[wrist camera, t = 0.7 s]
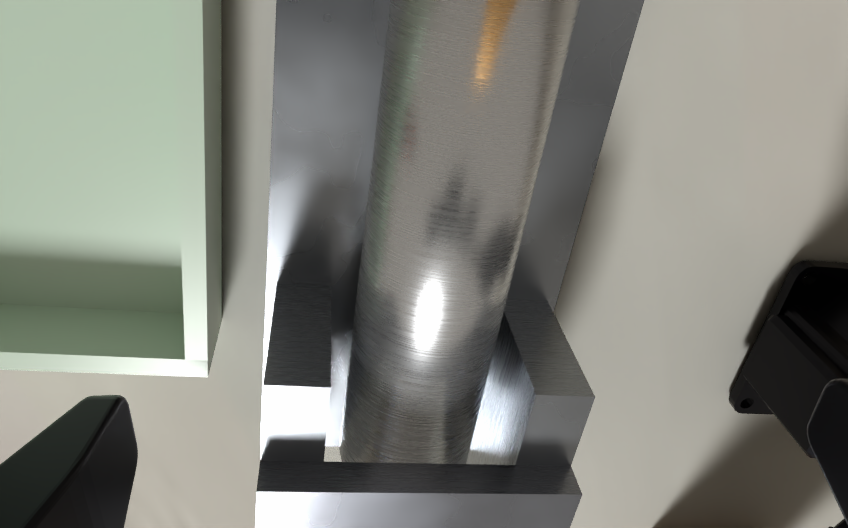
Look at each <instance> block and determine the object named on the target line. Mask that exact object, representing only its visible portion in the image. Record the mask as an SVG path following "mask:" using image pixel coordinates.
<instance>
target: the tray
mask: <svg viewBox="0 0 848 528" xmlns="http://www.w3.org/2000/svg"><path fill="white" fill-rule="evenodd" d="M221 321H222V156H221V0H0V370H24V371H51V372H78V373H105V374H132V375H159V376H186V377H208V375H209V370H210V366H211V362H212V358H213V354H214V350H215V346H216V342H217V338H218V333H219V329H220V325H221Z"/></svg>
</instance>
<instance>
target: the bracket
mask: <svg viewBox="0 0 848 528" xmlns="http://www.w3.org/2000/svg"><path fill="white" fill-rule="evenodd" d="M390 3H391V0H277V3H276V30H275V57H274V84H273V112H272V139H271V166H270V193H269V220H268V248H267V275H266V302H265V329H264V356H263V384H262V411H261V438H260V445H261V456H260V468H259V476H258V484H257V493H256V522H255V528H570V526H571V523H572V520H573V518H574V515H575V512H576V510H577V507H578V504H579V502H580V499H581V496H582V493H581V490H580V488H579V485H578V483H577V480H576V478H575V475H574V473H573V470H572V468H571V464H572V461H573V458H574V455H575V452H576V449H577V447H578V444H579V441H580V438H581V435H582V432H583V430H584V427H585V424H586V421H587V418H588V416H589V413H590V410H591V407H592V404H593V401H594V399H595V396H594V394H593V392H592V390H591V388H590V386H589V384H588V382H587V380H586V378H585V376H584V374H583V372H582V370H581V368H580V366H579V364H578V361H577V359H576V357H575V355H574V353H573V351H572V349H571V347H570V345H569V343H568V341H567V339H566V337H565V335H564V333H563V331H562V329H561V327H560V325H559V323H558V321H557V319H556V317H555V315H554V313H553V312H554V309H555V305H556V302H557V298H558V295H559V292H560V288H561V285H562V281H563V278H564V274H565V271H566V267H567V264H568V261H569V257H570V254H571V250H572V247H573V243H574V240H575V237H576V233H577V230H578V226H579V223H580V219H581V216H582V212H583V209H584V206H585V202H586V199H587V195H588V192H589V188H590V185H591V182H592V178H593V175H594V171H595V168H596V164H597V161H598V157H599V154H600V151H601V147H602V144H603V140H604V137H605V133H606V130H607V127H608V123H609V120H610V116H611V113H612V109H613V106H614V103H615V99H616V96H617V92H618V89H619V85H620V82H621V78H622V75H623V72H624V68H625V65H626V61H627V58H628V54H629V51H630V48H631V44H632V41H633V37H634V34H635V30H636V27H637V23H638V20H639V17H640V13H641V10H642V6H643V3H644V0H580V5H579V9H578V13H577V17H576V21H575V25H574V29H573V33H572V37H571V41H570V45H569V49H568V53H567V57H566V61H565V65H564V69H563V73H562V77H561V81H560V86H559V90H558V94H557V98H556V102H555V106H554V110H553V114H552V118H551V122H550V126H549V130H548V134H547V138H546V142H545V146H544V150H543V154H542V158H541V162H540V167H539V171H538V175H537V179H536V183H535V187H534V191H533V195H532V199H531V203H530V207H529V211H528V215H527V219H526V223H525V227H524V231H523V235H522V239H521V243H520V248H519V252H518V256H517V260H516V264H515V268H514V272H513V276H512V280H511V284H510V288H509V292H508V296H507V300H506V304H505V308H504V312H503V316H502V320H501V324H500V329H499V333H498V337H497V341H496V345H495V349H494V353H493V357H492V361H491V365H490V369H489V373H488V377H487V381H486V385H485V389H484V393H483V397H482V401H481V405H480V410H479V414H478V418H477V422H476V426H475V430H474V434H473V438H472V442H471V446H470V450H469V454H468V458H467V462H466V464H431V463H371V462H323V461H324V451H325V446H339V445H340V435H341V426H342V417H343V409H344V400H345V392H346V383H347V374H348V366H349V357H350V348H351V340H352V331H353V322H354V314H355V305H356V296H357V288H358V279H359V271H360V262H361V253H362V245H363V236H364V227H365V219H366V210H367V201H368V193H369V184H370V175H371V167H372V158H373V150H374V141H375V132H376V124H377V115H378V106H379V98H380V89H381V80H382V72H383V63H384V54H385V46H386V37H387V29H388V20H389V11H390Z"/></svg>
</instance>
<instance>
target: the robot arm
mask: <svg viewBox="0 0 848 528" xmlns="http://www.w3.org/2000/svg"><path fill="white" fill-rule="evenodd" d="M808 273H809V274H808ZM806 274H808V275H807V277H805V278H803V277H804V276H805V275H806ZM729 402H730V404H731V405H732V407H733V408H734V409H735V411H737V412H738V413H747V414H774V415H775V416H776V417H777V419H778V420H779V421H780V422H781V424H782V425H783V426H784V427H785V429H786V430H787V431H788V432H789V433H790V435H791V436H792V437H793V438H794V440H795V441H796V442H797V443H798V445H799V446H800V447H801V448H802V450H803V451H804V452H805V453H806V455H807V456H809V457H810V458H816V459H817V461H818V463H819V465H820V467H821V469H822V471H823V473H824V476H825V478H826V480H827V482H828V484H829V486H830V488H831V490H832V492H833V495H834V497H835V499H836V501H837V503H838V505H839V507H840V509H841V512H842V514H843V516H844V519H843V520H842V521H841V522H840V523H838V524H837V525H836V526H835V527H834V528H848V263H837V262H825V261H812V260H806V261H801V262H799V263H797V264H796V265H795V266H793V267H792V269H791V270H790V272H789V273H788V276H787V278H786V280H785V282H784V284H783V286H782V288H781V290H780V292H779V294H778V296H777V298H776V300H775V302H774V305H773V307H772V309H771V311H770V313H769V315H768V317H767V319H766V321H765V323H764V325H763V327H762V329H761V332H760V334H759V336H758V338H757V340H756V342H755V344H754V346H753V348H752V350H751V352H750V354H749V356H748V359H747V361H746V363H745V365H744V367H743V369H742V371H741V373H740V375H739V377H738V379H737V381H736V383H735V386H734V388H733V390H732V392H731V394H730V396H729ZM137 458H138V450H137V442H136V438H135V433H134V428H133V423H132V419H131V414H130V409H129V405H128V402H127V401H126V399H125V398H124V397H122V396H120V395H105V396H89V397H87V398H85V399H83V400H82V401H80V402H79V403H78V404H77V405H75V406H74V407H73V408H72V409H70V410H69V411H68V412H66V413H65V414H64V415H63V416H61V417H60V418H59V419H58V420H56V421H55V422H54V423H52V424H51V425H50V426H49V427H47V428H46V429H45V430H44V431H42V432H41V433H40V434H38V435H37V436H36V437H35V438H33V439H32V440H31V441H30V442H28V443H27V444H26V445H24V446H23V447H22V448H21V449H19V450H18V451H17V452H16V453H14V454H13V455H12V456H10V457H9V458H8V459H7V460H5V461H4V462H3V463H2V464H0V528H124V524H125V519H126V514H127V510H128V505H129V500H130V495H131V490H132V486H133V481H134V476H135V471H136V466H137ZM829 528H833V527H829Z"/></svg>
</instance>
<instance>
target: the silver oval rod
mask: <svg viewBox="0 0 848 528" xmlns="http://www.w3.org/2000/svg"><path fill="white" fill-rule="evenodd" d="M579 5H580V0H391V3H390V11H389V20H388V29H387V37H386V46H385V54H384V63H383V72H382V80H381V89H380V98H379V106H378V115H377V124H376V132H375V141H374V150H373V158H372V167H371V175H370V184H369V193H368V201H367V210H366V219H365V227H364V236H363V245H362V253H361V262H360V271H359V279H358V288H357V296H356V305H355V314H354V322H353V331H352V340H351V348H350V357H349V366H348V374H347V383H346V392H345V400H344V409H343V417H342V426H341V435H340V445H339V449H340V455H341V459H342V461H343V462H371V463H431V464H466V462H467V458H468V454H469V450H470V446H471V442H472V438H473V434H474V430H475V426H476V422H477V418H478V414H479V410H480V405H481V401H482V397H483V393H484V389H485V385H486V381H487V377H488V373H489V369H490V365H491V361H492V357H493V353H494V349H495V345H496V341H497V337H498V333H499V329H500V324H501V320H502V316H503V312H504V308H505V304H506V300H507V296H508V292H509V288H510V284H511V280H512V276H513V272H514V268H515V264H516V260H517V256H518V252H519V248H520V243H521V239H522V235H523V231H524V227H525V223H526V219H527V215H528V211H529V207H530V203H531V199H532V195H533V191H534V187H535V183H536V179H537V175H538V171H539V167H540V162H541V158H542V154H543V150H544V146H545V142H546V138H547V134H548V130H549V126H550V122H551V118H552V114H553V110H554V106H555V102H556V98H557V94H558V90H559V86H560V81H561V77H562V73H563V69H564V65H565V61H566V57H567V53H568V49H569V45H570V41H571V37H572V33H573V29H574V25H575V21H576V17H577V13H578V9H579Z"/></svg>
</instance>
